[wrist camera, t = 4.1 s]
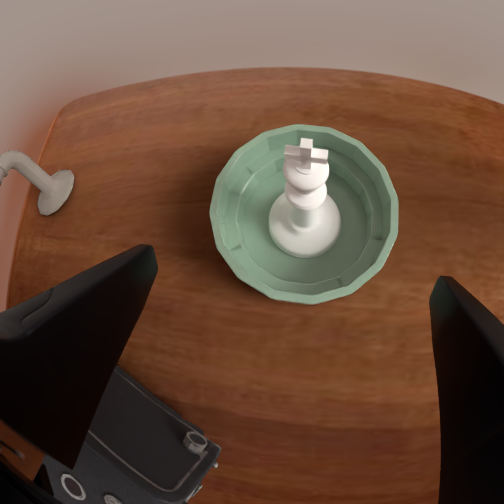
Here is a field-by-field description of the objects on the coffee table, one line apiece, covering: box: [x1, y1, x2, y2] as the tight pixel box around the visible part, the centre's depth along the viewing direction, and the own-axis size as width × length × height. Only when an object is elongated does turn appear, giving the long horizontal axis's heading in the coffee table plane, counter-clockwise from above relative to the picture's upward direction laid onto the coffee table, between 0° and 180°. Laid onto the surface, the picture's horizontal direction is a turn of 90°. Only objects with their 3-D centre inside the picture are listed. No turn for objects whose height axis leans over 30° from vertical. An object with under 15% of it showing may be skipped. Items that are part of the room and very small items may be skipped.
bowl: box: [209, 124, 398, 306], centre depth 19 cm, size 11×11×4 cm
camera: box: [43, 365, 221, 504], centre depth 14 cm, size 11×11×15 cm
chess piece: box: [269, 138, 341, 258], centre depth 15 cm, size 5×5×10 cm
